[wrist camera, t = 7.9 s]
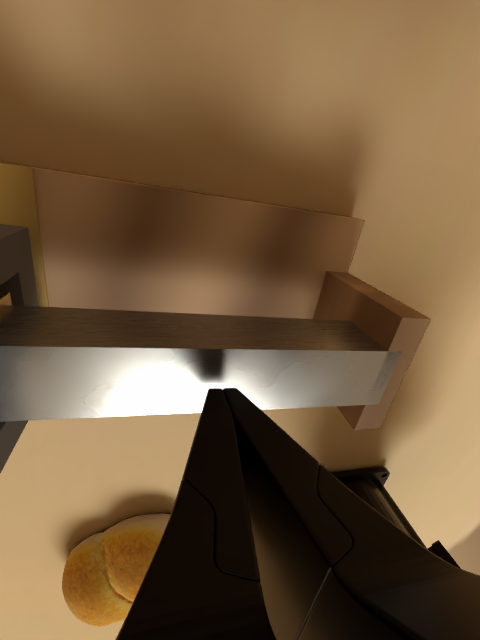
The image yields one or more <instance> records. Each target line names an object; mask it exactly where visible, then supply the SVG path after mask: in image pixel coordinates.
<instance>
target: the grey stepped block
mask: <svg viewBox="0 0 480 640" xmlns="http://www.w3.org/2000/svg"><path fill="white" fill-rule="evenodd" d="M0 292H10V297H11V302H12V305H19V306H39V303H38V296H37V289H36V281H35V274H34V267H33V259H32V252H31V245H30V237H29V230H28V227H23V226H14V225H5V224H0ZM27 422H28V420H26V421H4V422H0V473H1V471H2V469H3V467H4V465H5V464H6V462H7V460H8V458H9V456H10V454H11V452H12V450H13V448H14V447H15V445H16V443H17V441H18V439H19V437H20V435H21V433H22V431H23V430H24V428H25V426H26V424H27Z"/></svg>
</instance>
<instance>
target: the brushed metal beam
mask: <svg viewBox="0 0 480 640" xmlns="http://www.w3.org/2000/svg"><path fill="white" fill-rule="evenodd" d="M401 353H402V352H400V353H399V352H398V351H387V350H386V349H385V348H383V347H382V346H381V345H380V344H378V343H377V342H376V341H375V340H373V339H372V338H371V337H370V336H368V335H367V334H366V333H365V332H363V331H362V330H361V329H360V328H358V327H357V326H356V325H355V324H354V323H352V322H351V321H344V320H322V319H300V318H279V317H257V316H235V315H214V314H192V313H170V312H149V311H127V310H105V309H84V308H62V307H40V306H19V305H12V302H11V297H10V292H0V422H4V421H26V420H48V419H70V418H91V417H113V416H135V415H157V414H179V413H201V412H202V409H203V405H204V402H205V399H206V395H207V392H208V390H209V389H211V388H221V389H222V390H223V389H224V388H237V389H238V390H239V391H240V392H242V393H243V394H244V395H245V396H246V397H247V398H248V399H249V400H250V401H251V402H253V403H254V404H255V405H256V406H257V407H258V408H259V409H260V410H266V409H288V408H310V407H332V406H354V405H376V404H379V402H380V400H381V398H382V395H383V393H384V391H385V389H386V386H387V384H388V382H389V380H390V378H391V375H392V373H393V371H394V369H395V366H396V364H397V362H398V360H399V358H400V355H401ZM387 354H389V355H392V356H390V357H389V355H387ZM386 355H387V356H386ZM385 358H386V359H385ZM387 358H389V360H390V361H389V360H387ZM395 359H396V360H395ZM383 362H384V363H383Z"/></svg>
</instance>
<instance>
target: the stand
mask: <svg viewBox="0 0 480 640" xmlns="http://www.w3.org/2000/svg"><path fill="white" fill-rule="evenodd" d="M364 221H365V220H361V219H357V218H353V217H347V216H340V215H334V214H328V213H321V212H315V211H309V210H302V209H296V208H290V207H283V206H277V205H271V204H265V203H258V202H252V201H246V200H239V199H233V198H227V197H220V196H214V195H208V194H201V193H195V192H189V191H182V190H176V189H170V188H164V187H157V186H151V185H145V184H138V183H132V182H126V181H119V180H113V179H107V178H100V177H94V176H88V175H81V174H75V173H69V172H63V171H56V170H50V169H44V168H37V167H31V166H25V165H18V164H12V163H6V162H0V224H5V225H14V226H23V227H28V230H29V237H30V245H31V252H32V259H33V267H34V274H35V281H36V289H37V296H38V303H39V306H40V307H62V308H84V309H105V310H127V311H149V312H170V313H192V314H214V315H235V316H257V317H279V318H300V319H322V320H344V321H351V322H352V323H354V324H355V325H356V326H357V327H358V328H360V329H361V330H362V331H363V332H365V333H366V334H367V335H368V336H370V337H371V338H372V339H373V340H375V341H376V342H377V343H378V344H380V345H381V346H382V347H383V348H385V349H386V350H387V351H398V352H399V353H400V352H402V353H401V355H400V358H399V360H398V362H397V364H396V366H395V369H394V371H393V373H392V375H391V378H390V380H389V382H388V384H387V386H386V389H385V391H384V393H383V395H382V398H381V400H380V402H379V404H376V405H354V406H337V407H338V409H339V410H340V411H341V413H342V414H343V415H344V417H345V418H346V419H347V421H348V422H349V423H350V425H351V426H352V427H353V429H354V430H365V429H379V428H380V426H381V424H382V422H383V420H384V418H385V416H386V414H387V411H388V409H389V407H390V405H391V403H392V401H393V399H394V397H395V395H396V392H397V390H398V388H399V386H400V384H401V382H402V380H403V378H404V375H405V373H406V371H407V369H408V367H409V365H410V363H411V361H412V359H413V356H414V354H415V352H416V350H417V348H418V346H419V344H420V342H421V339H422V337H423V335H424V333H425V331H426V329H427V327H428V325H429V323H430V320H431V319H430V318H428V317H426V316H424V315H422V314H421V313H419V312H417V311H415V310H413V309H412V308H410V307H408V306H406V305H404V304H403V303H401V302H399V301H397V300H395V299H394V298H392V297H390V296H388V295H387V294H385V293H383V292H381V291H379V290H378V289H376V288H374V287H372V286H370V285H369V284H367V283H365V282H363V281H361V280H360V279H358V278H356V277H354V276H352V275H351V274H349V273H348V271H349V268H350V265H351V262H352V258H353V255H354V252H355V249H356V246H357V243H358V240H359V236H360V233H361V230H362V227H363V224H364ZM387 355H389V354H387ZM387 355H386V356H387ZM390 356H392V355H389V357H390ZM385 359H386V358H385ZM387 360H389V358H387ZM395 360H396V359H395ZM389 361H390V360H389ZM383 363H384V362H383Z"/></svg>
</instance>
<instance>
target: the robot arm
mask: <svg viewBox="0 0 480 640" xmlns="http://www.w3.org/2000/svg"><path fill="white" fill-rule="evenodd" d="M389 474H390V473H389V471H388V470H387V469H386V468H385V467H381V468H372V469H364V470H355V471H347V472H338V473H330V472H329V471H328V470H327V469H326V468H325V467H324V466H322V465H319V462H318V461H317V460H316V459H315V458H313V457H312V456H311V455H310V454H309V453H308V452H307V451H306V450H305V449H303V448H302V447H301V446H300V445H299V444H298V443H297V442H296V441H295V440H293V439H292V438H291V437H290V436H289V435H288V434H287V433H286V432H285V431H284V430H282V429H281V428H280V427H279V426H278V425H277V424H276V423H275V422H274V421H272V420H271V419H270V418H269V417H268V416H267V415H266V414H265V413H264V412H263V411H261V410H260V409H259V408H258V407H257V406H256V405H255V404H254V403H253V402H251V401H250V400H249V399H248V398H247V397H246V396H245V395H244V394H243V393H242V392H240V391H239V390H238V389H237V388H224V389H223V390H222V389H221V388H211V389H209V390H208V392H207V395H206V399H205V402H204V405H203V409H202V412H201V416H200V419H199V423H198V426H197V430H196V433H195V436H194V440H193V443H192V447H191V450H190V454H189V457H188V460H187V464H186V467H185V471H184V474H183V478H182V481H181V484H180V487H179V491H178V494H177V497H176V500H175V503H174V506H173V509H172V512H171V515H170V518H169V521H168V523H167V525H166V528H165V530H164V533H163V535H162V538H161V540H160V543H159V545H158V547H157V549H156V552H155V554H154V556H153V558H152V561H151V563H150V565H149V567H148V570H147V572H146V574H145V576H144V579H143V581H142V583H141V585H140V588H139V590H138V592H137V595H136V597H135V599H134V601H133V604H132V606H131V608H130V610H129V613H128V615H127V617H126V619H125V621H124V623H123V625H122V627H121V629H120V631H119V634H118V636H117V638H116V640H480V575H476V574H473V573H470V572H467V571H465V570H462V569H461V568H460V567H459V566H458V564H457V563H456V562H455V561H454V559H453V558H452V557H451V556H450V554H449V553H448V552H447V550H446V549H445V548H444V547H443V545H442V544H441V543H440V541H439V540H438V541H436V542H435V543H433V544H432V546H431V547H430V548H428V549H427V548H426V546H425V545H424V543H423V542H422V541H421V539H420V538H419V536H418V535H417V533H416V532H415V531H414V529H413V528H412V526H411V525H410V523H409V522H408V521H407V519H406V518H405V516H404V515H403V513H402V512H401V511H400V509H399V508H398V506H397V505H396V503H395V502H394V501H393V499H392V498H391V496H390V495H389V493H388V492H387V491H386V489H385V488H384V484H385V482H386V480H387V478H388V476H389Z"/></svg>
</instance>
